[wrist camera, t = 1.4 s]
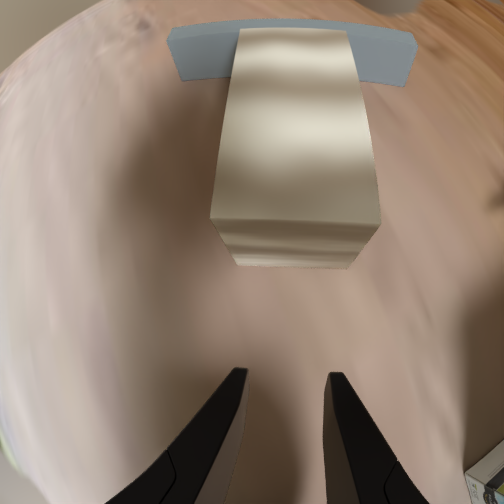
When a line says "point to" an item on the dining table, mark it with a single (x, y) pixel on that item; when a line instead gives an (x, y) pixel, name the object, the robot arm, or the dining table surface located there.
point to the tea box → (487, 478)
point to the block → (295, 153)
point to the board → (227, 32)
